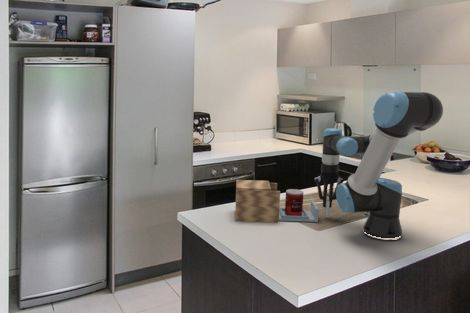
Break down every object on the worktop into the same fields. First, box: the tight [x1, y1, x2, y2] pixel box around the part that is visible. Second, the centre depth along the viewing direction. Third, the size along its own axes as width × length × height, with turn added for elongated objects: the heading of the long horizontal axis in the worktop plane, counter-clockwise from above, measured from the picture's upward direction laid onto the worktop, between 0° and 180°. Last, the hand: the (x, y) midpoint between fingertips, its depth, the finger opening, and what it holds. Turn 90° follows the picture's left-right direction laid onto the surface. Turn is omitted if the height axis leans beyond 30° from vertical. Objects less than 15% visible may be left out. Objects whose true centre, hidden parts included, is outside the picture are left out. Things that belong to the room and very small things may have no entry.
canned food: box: [284, 188, 304, 216], centre depth 191 cm, size 8×8×11 cm
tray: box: [279, 200, 320, 223], centre depth 192 cm, size 20×13×6 cm, turn 90°
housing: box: [234, 179, 281, 223], centre depth 191 cm, size 19×15×15 cm
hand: (326, 214), depth 192 cm, fingers closed
